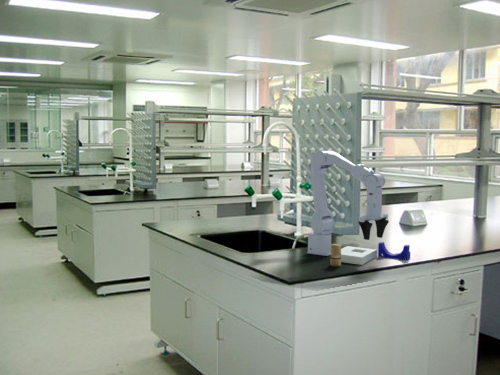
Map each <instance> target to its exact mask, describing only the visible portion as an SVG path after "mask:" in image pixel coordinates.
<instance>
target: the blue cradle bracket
mask: <svg viewBox="0 0 500 375" xmlns="http://www.w3.org/2000/svg"><path fill="white" fill-rule="evenodd" d="M377 247H378V248H377V249H378V250H377V258H385V259H394V260H400V261H408V260H410V259H411V251H410V248H411V247H410V244H405V245H403V248H402V250H401V252H397V253H392V252H390V251H389V250H388V249H387V247H386V244H385V242H384V241H379V242H378V246H377Z"/></svg>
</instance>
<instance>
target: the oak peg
mask: <svg viewBox="0 0 500 375" xmlns="http://www.w3.org/2000/svg"><path fill="white" fill-rule="evenodd" d="M341 249H342V244H339V243H331V254H330V255H329V256H330V261H329V262H330V264H329V266H332V267H341V266H342V262H341Z"/></svg>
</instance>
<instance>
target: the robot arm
mask: <svg viewBox="0 0 500 375" xmlns="http://www.w3.org/2000/svg"><path fill="white" fill-rule="evenodd" d="M310 159H311V165H310V170H309V171H310V179H311V180H310V181H311V188H312V198H313V203H314V204H313V205H314V212H313V214H312V215H311V223H310V228H311V230H312V231H311V232H309V234H308V238H307V252H306V253H307V254H311V255H318V256H325V257H326V256H327V257H328V256H331V244H332V233H333V230H334V229H335V226H336V223H335V219H334V218H333V213H332V212H331V211H330V209H329V207H328V198H327V190H326V184H325V175H324V174H325V172H326V171H327V170H328V169H329V168H331V167H332V166H334V165H336V166H339V167H341V168H342V169H344V170H346V171H348V172H350V173H351V177H353V178H355V179H356V180H358V181H359V182H361V183H363V184H364V186H365V188H366V211H365V212H366V214H364V215H361V216H359V217H358V225H359V227H360V229H361V232H362V235H363V240H367V241H368V240H370V237H371V230H372V226H373V223H372V221H374V223H375V227H376V238H381V239H382V238H383V235H384V232H385V230H386V227H387V225H388V224H389V223H390V222H389V213H382V211H383V210H382V206H383V204H382V202H383V187H384V185H385V183H386V179H385V176H384V175H383V174H382V173H379V172H375V171H374V170H373V169H369V168H368V167H366V164H363V163H362V164H361V163H359V164H358V163H357V164H355V163H353V162H352V161H350V160H348V159H347V158H346V157H343V156H342V155H341V154H340V153H338V152H336V151H334V150H317V151H315V152H314V153H313V154H312V155H311V158H310Z"/></svg>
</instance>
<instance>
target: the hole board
mask: <svg viewBox="0 0 500 375" xmlns="http://www.w3.org/2000/svg"><path fill="white" fill-rule="evenodd" d="M376 258H378V250H377V249H374V248H367V247H359V246H350V245H347V246H345V247H341V263H344V264H345V263H347V264H354V265H360V266H363V265H365V264H366V263H369V261H372V260H374V259H376Z"/></svg>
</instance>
